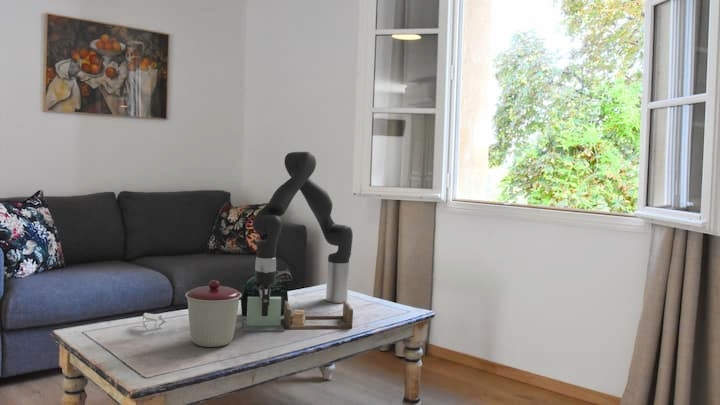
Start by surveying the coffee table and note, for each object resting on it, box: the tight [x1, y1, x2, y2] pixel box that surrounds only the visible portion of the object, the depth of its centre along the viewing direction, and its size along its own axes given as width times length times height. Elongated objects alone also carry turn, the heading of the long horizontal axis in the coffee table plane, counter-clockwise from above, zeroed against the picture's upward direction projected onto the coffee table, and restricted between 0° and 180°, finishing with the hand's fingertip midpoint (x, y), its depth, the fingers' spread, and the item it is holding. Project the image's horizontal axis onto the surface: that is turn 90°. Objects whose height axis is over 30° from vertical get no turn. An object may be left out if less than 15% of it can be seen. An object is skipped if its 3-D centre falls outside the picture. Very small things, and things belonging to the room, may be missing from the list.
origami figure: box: [142, 312, 167, 334], centre depth 224 cm, size 12×8×5 cm
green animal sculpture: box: [240, 265, 293, 317], centre depth 250 cm, size 20×6×20 cm, turn 108°
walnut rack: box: [283, 300, 354, 330], centre depth 242 cm, size 14×24×7 cm, turn 102°
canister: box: [184, 279, 242, 348], centre depth 212 cm, size 18×18×21 cm
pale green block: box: [246, 297, 282, 326], centre depth 235 cm, size 3×12×10 cm, turn 102°
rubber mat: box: [242, 318, 285, 333], centre depth 235 cm, size 14×14×1 cm
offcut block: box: [291, 309, 306, 326], centre depth 241 cm, size 8×4×4 cm, turn 0°
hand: (263, 312), depth 235 cm, fingers open, 8 cm apart
